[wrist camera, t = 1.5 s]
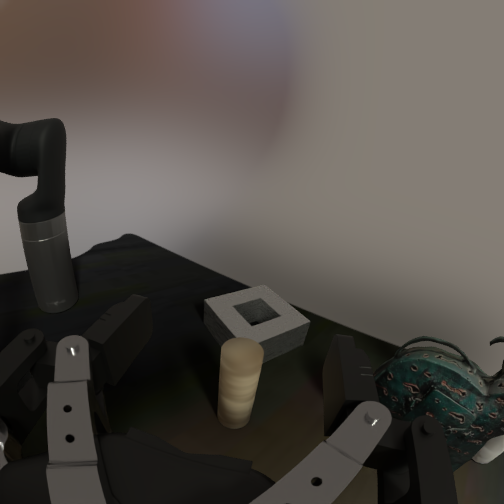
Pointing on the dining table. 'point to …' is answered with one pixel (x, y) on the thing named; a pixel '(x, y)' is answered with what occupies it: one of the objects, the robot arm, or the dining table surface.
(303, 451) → the dining table surface
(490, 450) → the bottle
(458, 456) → the ceramic cat
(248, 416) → the wooden peg
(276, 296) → the socket block
